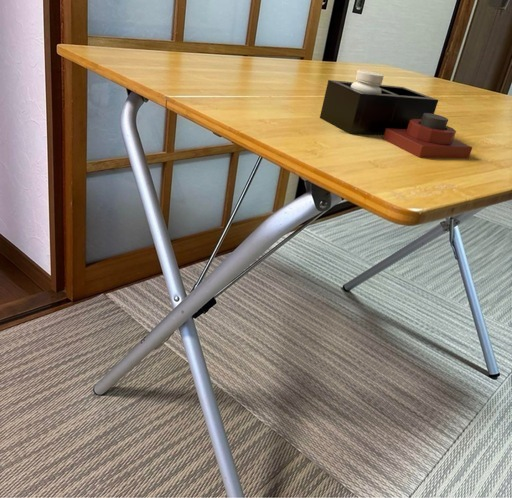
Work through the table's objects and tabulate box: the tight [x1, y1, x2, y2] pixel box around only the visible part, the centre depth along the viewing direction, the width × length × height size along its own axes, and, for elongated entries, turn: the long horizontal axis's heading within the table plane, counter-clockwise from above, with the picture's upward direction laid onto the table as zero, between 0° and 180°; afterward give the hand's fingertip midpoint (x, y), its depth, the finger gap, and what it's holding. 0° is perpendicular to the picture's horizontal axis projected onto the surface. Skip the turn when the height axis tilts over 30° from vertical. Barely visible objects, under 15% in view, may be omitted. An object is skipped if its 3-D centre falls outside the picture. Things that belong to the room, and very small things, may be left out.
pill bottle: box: [351, 69, 384, 94], centre depth 79 cm, size 5×5×8 cm
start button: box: [420, 113, 449, 130], centre depth 74 cm, size 4×4×2 cm
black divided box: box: [319, 79, 439, 137], centre depth 81 cm, size 16×8×6 cm, turn 117°
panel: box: [382, 119, 473, 159], centre depth 75 cm, size 10×8×4 cm
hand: (473, 2), depth 67 cm, fingers open, 8 cm apart
